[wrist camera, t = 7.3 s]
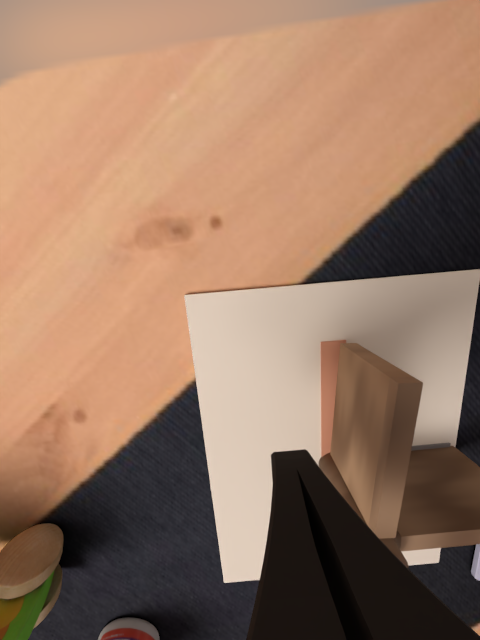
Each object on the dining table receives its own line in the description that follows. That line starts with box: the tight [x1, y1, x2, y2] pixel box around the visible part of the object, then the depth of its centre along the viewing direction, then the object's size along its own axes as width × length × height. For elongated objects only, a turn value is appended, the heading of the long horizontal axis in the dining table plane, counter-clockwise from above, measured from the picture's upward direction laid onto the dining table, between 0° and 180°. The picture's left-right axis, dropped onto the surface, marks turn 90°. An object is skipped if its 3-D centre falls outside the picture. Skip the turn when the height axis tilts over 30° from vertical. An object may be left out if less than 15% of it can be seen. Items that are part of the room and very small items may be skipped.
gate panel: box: [330, 343, 423, 539], centre depth 12 cm, size 8×1×5 cm, turn 0°
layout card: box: [184, 269, 480, 583], centre depth 16 cm, size 18×24×1 cm
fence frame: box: [319, 446, 480, 568], centre depth 13 cm, size 10×2×6 cm, turn 95°
